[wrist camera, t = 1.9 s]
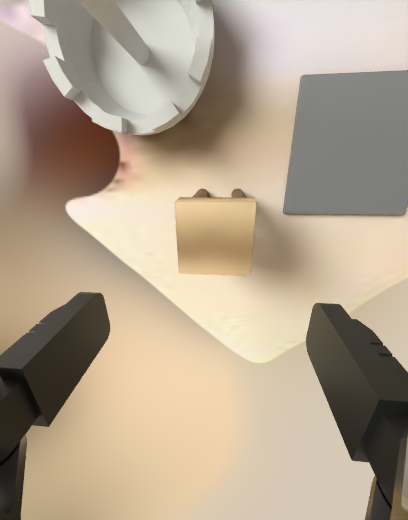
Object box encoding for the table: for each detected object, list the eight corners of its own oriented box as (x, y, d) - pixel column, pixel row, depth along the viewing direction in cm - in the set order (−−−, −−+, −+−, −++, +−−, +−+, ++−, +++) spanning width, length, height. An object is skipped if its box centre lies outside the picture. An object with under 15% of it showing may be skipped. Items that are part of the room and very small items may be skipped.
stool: (194, 185, 25) (174, 201, 16) (245, 185, 24) (256, 202, 15) (195, 234, 27) (179, 273, 18) (242, 235, 27) (250, 276, 17)
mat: (300, 77, 20) (302, 75, 20) (449, 70, 19) (455, 68, 18) (282, 212, 25) (284, 213, 24) (399, 213, 24) (403, 214, 23)
